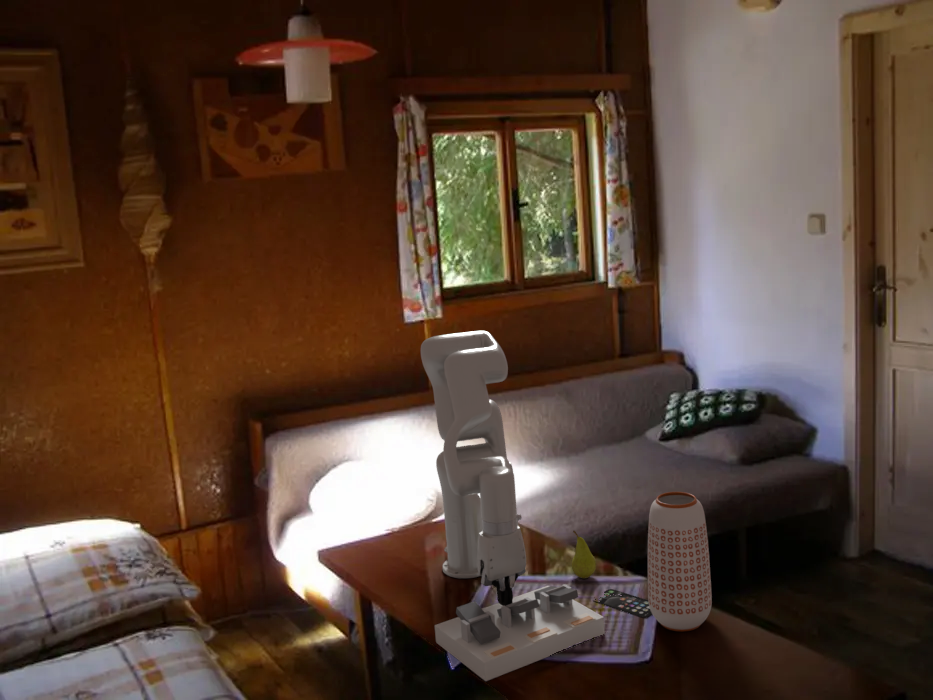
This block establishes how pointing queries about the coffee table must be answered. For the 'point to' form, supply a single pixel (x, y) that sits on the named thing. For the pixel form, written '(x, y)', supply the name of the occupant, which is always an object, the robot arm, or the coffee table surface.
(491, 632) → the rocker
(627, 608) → the smartphone
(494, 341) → the robot arm
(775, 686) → the coffee table surface
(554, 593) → the rocker
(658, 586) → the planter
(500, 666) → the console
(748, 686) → the coffee table surface
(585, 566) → the fruit
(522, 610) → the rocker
